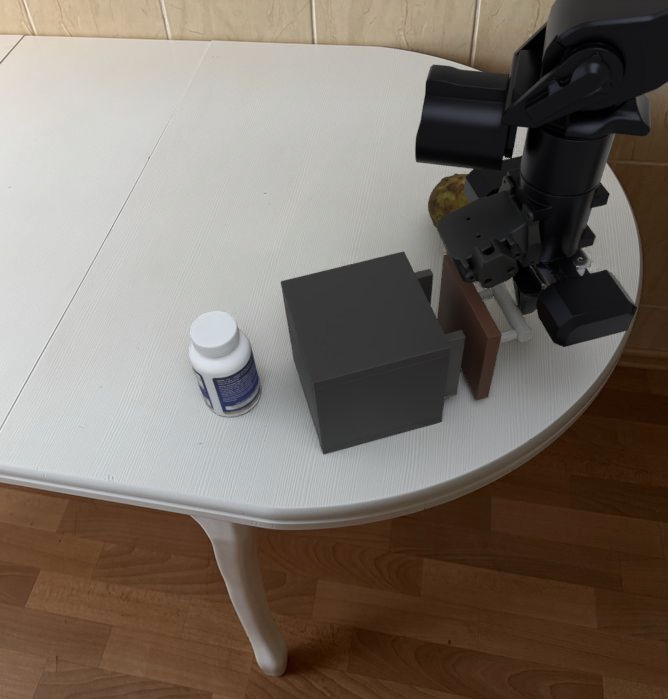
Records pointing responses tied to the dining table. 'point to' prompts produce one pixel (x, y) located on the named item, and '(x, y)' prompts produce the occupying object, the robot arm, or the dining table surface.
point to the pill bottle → (223, 364)
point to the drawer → (472, 327)
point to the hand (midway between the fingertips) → (524, 311)
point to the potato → (447, 197)
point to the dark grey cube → (366, 351)
